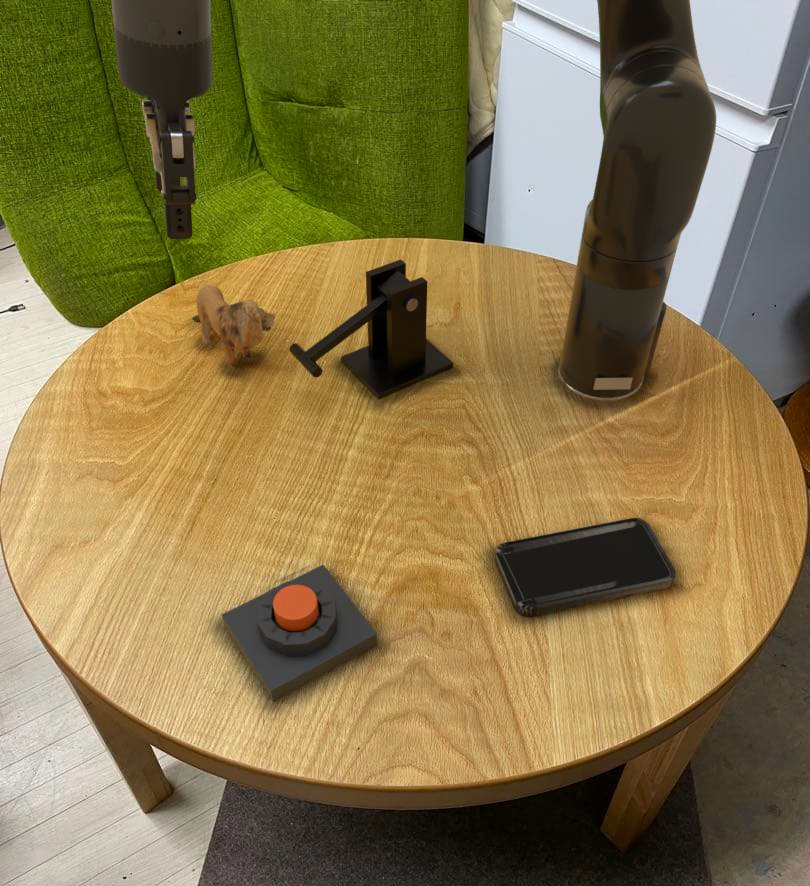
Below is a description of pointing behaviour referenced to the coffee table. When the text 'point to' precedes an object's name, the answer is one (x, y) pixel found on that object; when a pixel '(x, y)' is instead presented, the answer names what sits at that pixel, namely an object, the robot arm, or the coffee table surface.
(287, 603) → the button
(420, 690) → the coffee table surface
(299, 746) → the coffee table surface
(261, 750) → the coffee table surface
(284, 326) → the coffee table surface
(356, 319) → the switch lever
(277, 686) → the control block
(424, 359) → the switch bracket
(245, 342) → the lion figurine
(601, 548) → the phone
